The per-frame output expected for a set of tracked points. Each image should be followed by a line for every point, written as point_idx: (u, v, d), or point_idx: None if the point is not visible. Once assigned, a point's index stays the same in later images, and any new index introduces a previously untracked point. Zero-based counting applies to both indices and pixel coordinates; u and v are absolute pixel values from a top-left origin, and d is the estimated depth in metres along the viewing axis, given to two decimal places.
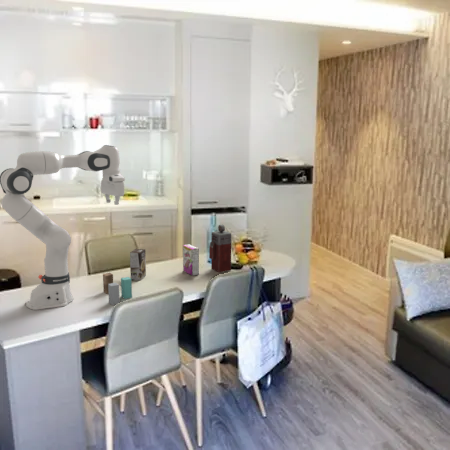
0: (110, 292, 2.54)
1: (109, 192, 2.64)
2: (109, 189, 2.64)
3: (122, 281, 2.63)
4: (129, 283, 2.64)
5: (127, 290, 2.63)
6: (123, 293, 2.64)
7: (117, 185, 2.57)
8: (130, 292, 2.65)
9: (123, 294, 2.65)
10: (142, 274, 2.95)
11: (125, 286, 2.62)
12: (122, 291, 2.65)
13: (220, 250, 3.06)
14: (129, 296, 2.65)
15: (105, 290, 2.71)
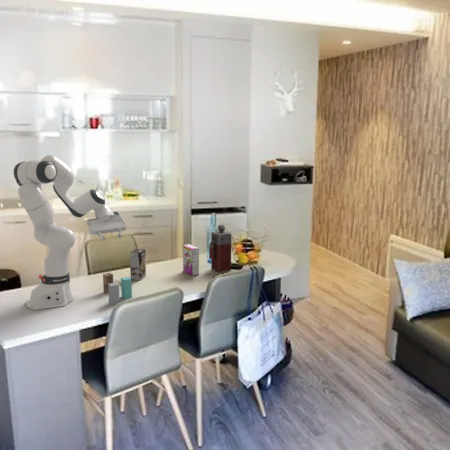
0: (110, 292, 2.54)
1: (110, 226, 2.76)
2: (109, 224, 2.76)
3: (122, 281, 2.63)
4: (129, 283, 2.64)
5: (127, 290, 2.63)
6: (123, 293, 2.64)
7: None
8: (130, 292, 2.65)
9: (123, 294, 2.65)
10: (142, 274, 2.95)
11: (125, 286, 2.62)
12: (122, 291, 2.65)
13: (220, 250, 3.06)
14: (129, 296, 2.65)
15: (105, 290, 2.71)
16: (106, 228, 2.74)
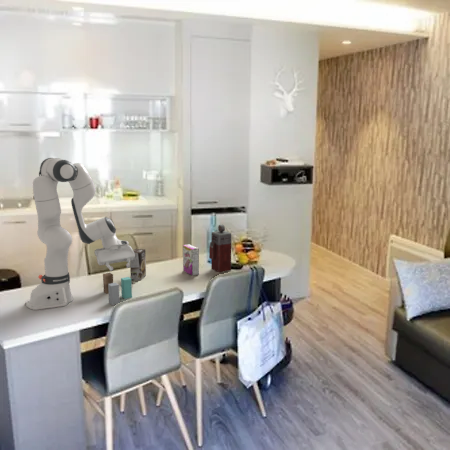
0: (110, 292, 2.54)
1: (118, 256, 2.71)
2: (118, 254, 2.72)
3: (122, 281, 2.63)
4: (129, 283, 2.64)
5: (127, 290, 2.63)
6: (123, 293, 2.64)
7: None
8: (130, 292, 2.65)
9: (123, 294, 2.65)
10: (142, 274, 2.95)
11: (125, 286, 2.62)
12: (122, 291, 2.65)
13: (220, 250, 3.06)
14: (129, 296, 2.65)
15: (105, 290, 2.71)
16: (114, 258, 2.69)
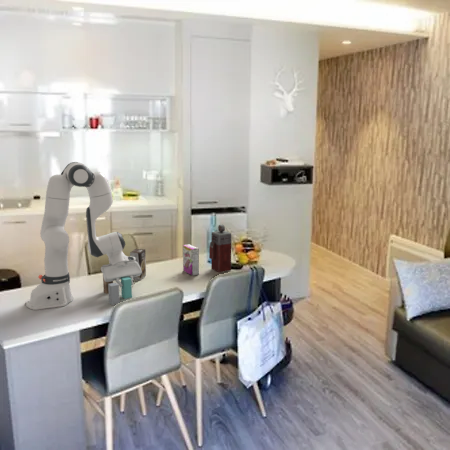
0: (110, 292, 2.54)
1: (125, 273, 2.66)
2: (124, 270, 2.67)
3: (122, 281, 2.63)
4: (129, 283, 2.64)
5: (127, 290, 2.63)
6: (123, 293, 2.64)
7: None
8: (130, 292, 2.65)
9: (123, 293, 2.65)
10: (142, 274, 2.95)
11: (125, 286, 2.62)
12: (122, 291, 2.65)
13: (220, 250, 3.06)
14: (129, 296, 2.65)
15: (105, 290, 2.71)
16: (121, 275, 2.64)
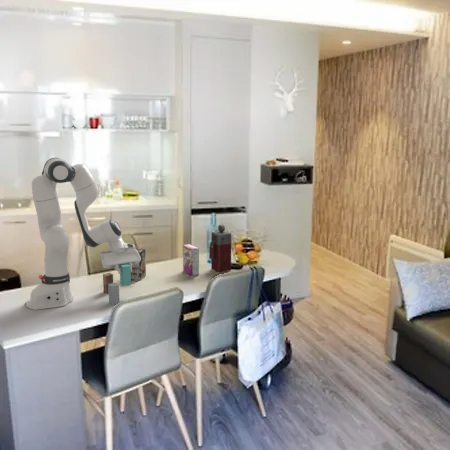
0: (110, 292, 2.54)
1: (124, 260, 2.64)
2: (123, 257, 2.65)
3: (121, 268, 2.62)
4: (128, 270, 2.62)
5: (126, 277, 2.62)
6: (122, 280, 2.62)
7: None
8: (129, 279, 2.63)
9: (121, 281, 2.63)
10: (142, 274, 2.95)
11: (124, 273, 2.61)
12: (121, 278, 2.63)
13: (220, 250, 3.06)
14: (128, 283, 2.63)
15: (105, 290, 2.71)
16: (120, 262, 2.63)
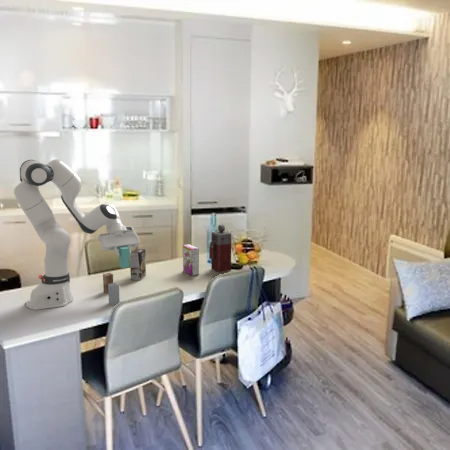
0: (110, 292, 2.54)
1: (123, 242, 2.63)
2: (122, 240, 2.64)
3: (120, 250, 2.61)
4: (127, 253, 2.61)
5: (124, 259, 2.60)
6: (121, 262, 2.61)
7: None
8: (127, 262, 2.62)
9: (120, 263, 2.62)
10: (142, 274, 2.95)
11: (123, 255, 2.60)
12: (120, 260, 2.62)
13: (220, 250, 3.06)
14: (127, 266, 2.62)
15: (105, 290, 2.71)
16: (119, 244, 2.62)
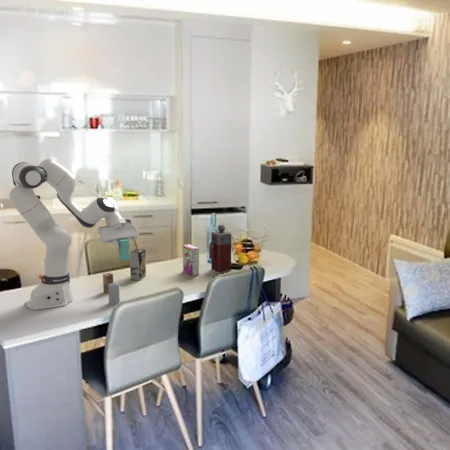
0: (110, 292, 2.54)
1: (122, 234, 2.63)
2: (121, 232, 2.64)
3: (119, 243, 2.61)
4: (127, 245, 2.61)
5: (124, 251, 2.61)
6: (120, 255, 2.61)
7: None
8: (127, 254, 2.62)
9: (120, 255, 2.62)
10: (142, 274, 2.95)
11: (122, 247, 2.60)
12: (119, 253, 2.62)
13: (220, 250, 3.06)
14: (126, 258, 2.62)
15: (105, 290, 2.71)
16: (118, 236, 2.62)
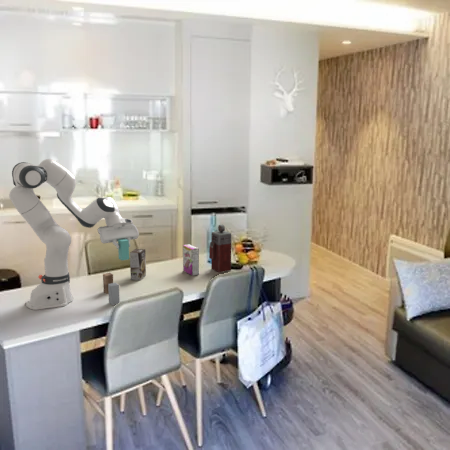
0: (110, 292, 2.54)
1: (122, 234, 2.63)
2: (121, 232, 2.64)
3: (119, 243, 2.61)
4: (127, 245, 2.61)
5: (124, 251, 2.61)
6: (120, 255, 2.61)
7: None
8: (127, 254, 2.62)
9: (120, 255, 2.62)
10: (142, 274, 2.95)
11: (122, 247, 2.60)
12: (119, 253, 2.62)
13: (220, 250, 3.06)
14: (126, 258, 2.62)
15: (105, 290, 2.71)
16: (118, 236, 2.62)
